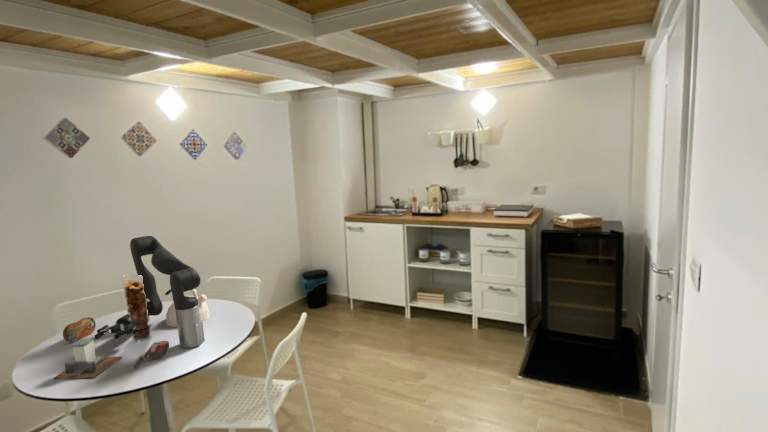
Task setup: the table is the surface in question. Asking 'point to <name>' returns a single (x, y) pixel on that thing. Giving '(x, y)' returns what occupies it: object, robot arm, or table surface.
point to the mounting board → (99, 369)
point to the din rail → (79, 373)
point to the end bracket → (80, 367)
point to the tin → (79, 329)
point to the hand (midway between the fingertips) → (105, 337)
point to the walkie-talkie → (154, 352)
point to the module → (84, 351)
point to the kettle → (202, 305)
